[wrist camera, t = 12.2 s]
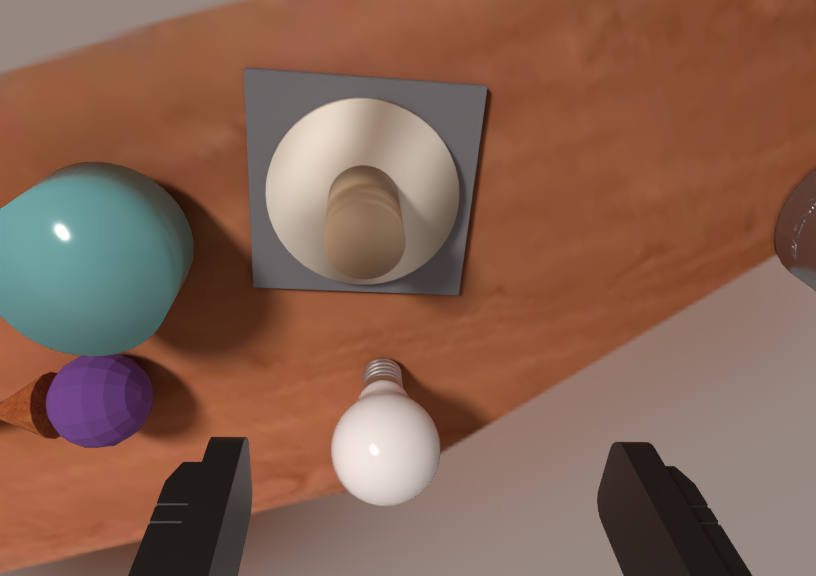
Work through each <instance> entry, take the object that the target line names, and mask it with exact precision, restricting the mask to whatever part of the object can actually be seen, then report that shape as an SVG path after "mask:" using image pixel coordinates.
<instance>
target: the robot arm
mask: <svg viewBox="0 0 816 576" xmlns="http://www.w3.org/2000/svg"><path fill="white" fill-rule="evenodd" d="M775 246H776V251H777V255H778V257H779V259H780V260H781V262H782V264H783V265H784V266H785V267H786V268H787V270H788V271H789V272H791V273H792V274H793V275H795V276H796V277H798V278H799V279H800V280H802V281H803V282H804V283H806V284H807V285H808V286H810V287H811V288H812V289H814V290H815V291H816V169H815V170H814V171H813V172H811V173H810V174H809V175H808V176H807V177H806V178H805V179H804V180H803V181H802V182H801V183H800V184H799V185H798V186H797V187H796V188H795V190H794V191H793V192H792V194H791V195H790V197H789V198H788V199H787V201H786V203H785V205H784V207H783V209H782V211H781V213H780V215H779V219H778V222H777V225H776V230H775ZM597 504H598V512H599V516H600V519H601V522H602V525H603V527H604V529H605V532H606V534H607V537H608V539H609V541H610V544H611V546H612V548H613V551H614V553H615V556H616V558H617V561H618V563H619V565H620V568H621V570H622V573H623V575H624V576H752V575H751V573H750V571H749V570H748V568H747V567H746V565H745V563H744V562H743V560H742V559H741V557H740V555H739V554H738V552H737V551H736V549H735V547H734V546H733V544H732V543H731V541H730V539H729V538H728V536H727V535H726V533H725V531H724V530H723V528H722V527H721V525H718V520H717V519H716V517H715V515H714V514H713V512H712V511H711V509H710V508H708V507H707V505H708V504H707V503H706V501H705V500H704V498H703V497H702V495H701V493H700V491H699V490H698V488H697V487H696V485H695V484H694V483H693V482H692V481H691V480H690V479H689V478H687V477H686V476H685V475H684V474H683V473H682V472H681V471H679V470H678V469H677V468H676V467H674V466H665V465H664V463H663V461H662V460H661V458H660V456H659V455H658V453H657V451H656V449H655V448H654V446H653V445H652V444H650V443H648V442H615V443H613V444H612V446H611V449H610V452H609V455H608V459H607V462H606V466H605V469H604V473H603V476H602V479H601V483H600V486H599V490H598V497H597ZM251 506H252V481H251V468H250V455H249V443H248V438H247V437H211V438H210V440H209V443H208V445H207V448H206V451H205V454H204V457H203V460H202V462H183V463H182V464H181V465H180V466H179V467H178V468H177V469H176V470H175V471H174V472H173V473H172V474H171V475H170V477H169V478H168V479H167V480H166V481H165V483H164V486H163V488H162V491H161V494H160V496H159V499H158V501H157V507H155V509H154V511H153V514H152V516H151V519H150V524H149V525H148V527H147V529H146V532H145V534H144V537H143V539H142V542H141V544H140V547H139V550H138V552H137V555H136V557H135V560H134V562H133V565H132V567H131V570H130V573H129V575H128V576H238V571H239V567H240V562H241V558H242V553H243V548H244V544H245V539H246V534H247V530H248V525H249V520H250V515H251Z"/></svg>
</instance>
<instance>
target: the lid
mask: <svg viewBox="0 0 816 576" xmlns="http://www.w3.org/2000/svg"><path fill="white" fill-rule="evenodd" d="M266 204H267V209H268V214H269V218H270V220H271V223H272V226H273V228H274V230H275V232H276V234H277V236H278V238H279V239H280V241H281V242H282V244H283V245H284V246H285V248H286V249H287V250H288V251H289V252H290V253H291V254H292V255H293V256H294V258H296V259H297V260H298V261H299V262H300V263H302V264H303V265H304V266H306V267H307V268H309V269H310V270H312V271H314V272H315V273H317V274H320V275H322V276H324V277H326V278H329V279H332V280H335V281H339V282H344V283H349V284H359V285H362V284H377V283H384V282H388V281H392V280H395V279H398V278H400V277H403V276H405V275H407V274H409V273H411V272H413V271H415V270H416V269H418V268H419V267H421V266H422V265H424V264H425V263H426V262H427V261H428V260H430V259H431V258H432V257H433V256H434V255H435V254H436V253H437V251H438V250H439V249H440V248H441V247H442V245H443V244H444V242H445V241H446V239H447V238H448V236H449V234H450V232H451V230H452V228H453V225H454V222H455V219H456V216H457V211H458V206H459V181H458V176H457V171H456V168H455V165H454V162H453V160H452V157H451V155H450V153H449V151H448V149H447V147H446V145H445V143H444V141H443V140H442V139H441V137H440V136H439V134H438V133H437V132H436V131H435V130H434V129H433V127H432V126H431V125H430V124H429V123H428V122H427V121H425V120H424V119H423V118H422V117H420V116H419V115H418V114H416V113H414V112H413V111H411V110H409V109H408V108H406V107H404V106H401V105H399V104H397V103H394V102H391V101H387V100H383V99H378V98H371V97H352V98H345V99H340V100H336V101H332V102H329V103H326V104H324V105H322V106H319V107H317V108H315V109H314V110H312V111H310V112H309V113H307V114H306V115H304V116H303V117H302V118H301V119H299V120H298V121H297V122H296V123H295V124H294V125H293V126H292V127H291V128H290V129H289V130H288V131H287V133H286V134H285V136H284V137H283V138H282V140H281V141H280V143H279V145H278V147H277V149H276V151H275V153H274V155H273V158H272V160H271V163H270V166H269V169H268V174H267V180H266Z"/></svg>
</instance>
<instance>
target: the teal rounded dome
mask: <svg viewBox="0 0 816 576" xmlns="http://www.w3.org/2000/svg"><path fill="white" fill-rule="evenodd" d="M193 255H194V242H193V236H192V232H191V229H190V225H189V223H188V221H187V219H186V216H185V214H184V213H183V211H182V210H181V208H180V206H179V205H178V204H177V203H176V201H175V200H174V199H173V198H172V196H171V195H170V194H169V193H167V192H166V191H165V190H164V189H163V188H162V187H161V186H160V185H158V184H157V183H156V182H154V181H153V180H151V179H150V178H148V177H146V176H145V175H143V174H141V173H139V172H137V171H135V170H132V169H129V168H127V167H124V166H120V165H116V164H112V163H105V162H83V163H76V164H72V165H69V166H65V167H63V168H61V169H59V170H56V171H55V172H53V173H52V174H50V175H49V176H47V177H46V178H44V179H43V180H41V181H40V182H38V183H37V184H36V185H34V186H33V187H31V188H30V189H28V190H27V191H26V192H24V193H23V194H21V195H20V196H18V197H17V198H16V199H14V200H13V201H11V202H10V203H8V204H7V205H6V206H4V207H3V208H1V209H0V316H1V317H2V318H3V319H4V320H5V321H6V322H7V323H9V324H10V325H11V326H12V327H13V328H15V329H16V330H17V331H18V332H20V333H21V334H23V335H24V336H26V337H28V338H29V339H31V340H33V341H35V342H37V343H39V344H41V345H43V346H45V347H48V348H51V349H53V350H56V351H60V352H63V353H67V354H73V355H79V356H106V355H113V354H117V353H121V352H125V351H127V350H130V349H132V348H134V347H136V346H138V345H140V344H142V343H143V342H144V341H146V340H147V339H148V338H150V337H151V336H152V335H153V334H154V333H155V332H156V330H157V329H158V328H159V326H160V325H161V323H162V322H163V320H164V318H165V316H166V314H167V313H168V311H169V309H170V307H171V305H172V303H173V302H174V300H175V298H176V296H177V294H178V292H179V290H180V289H181V287H182V285H183V283H184V281H185V279H186V278H187V275H188V273H189V271H190V269H191V265H192V262H193Z"/></svg>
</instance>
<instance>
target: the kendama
mask: <svg viewBox="0 0 816 576" xmlns="http://www.w3.org/2000/svg"><path fill="white" fill-rule="evenodd" d="M152 404H153V389H152V384H151V381H150V378H149V376H148V374H147V373H146V372H145V371H144V370H143V369H142V368H141V367H140V366H139V365H138V364H137V363H136V362H135V361H134V360H133V359H132V358H129V357H125V356H122V355H119V354H113V355H106V356H81V357H79V358H77V359H75V360H73V361H72V362H70V363H69V364H67V365H65V366H64V367H63V368H62V369H61V370H60V371H59V373H54V372H49V373H47V374H45V375H42V376H41V377H39V378H38V379H36V380H35V381H33V382H32V383H30V384H29V385H27V386H26V387H24V388H23V389H21V390H20V391H18V392H17V393H15V394H14V395H12V396H11V397H9V398H8V399H6V400H5V401H3V402H2V403H0V421H1V420H2V421H5V422H7V423H10V424H12V425H15V426H17V427H20V428H22V429H25V430H27V431H30V432H32V433H35V434H37V435H40V436H43V437H45V438H53V439H56V438H58V437H60V436H62V437H63V438H65V439H66V440H67V441H69V442H71V443H74V444H77V445H79V446H82V447H85V448H98V447H107V446H115V445H116V444H118V443H120V442H122V441H123V440H125V439H127V438H129V437H130V436H132V435H133V434H134V433H136V432H137V431H139V429H140V428H141V426H142V425H143V423H144V422H145V420H146V419H147V417H148V415H149V413H150V412H151V408H152Z"/></svg>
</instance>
